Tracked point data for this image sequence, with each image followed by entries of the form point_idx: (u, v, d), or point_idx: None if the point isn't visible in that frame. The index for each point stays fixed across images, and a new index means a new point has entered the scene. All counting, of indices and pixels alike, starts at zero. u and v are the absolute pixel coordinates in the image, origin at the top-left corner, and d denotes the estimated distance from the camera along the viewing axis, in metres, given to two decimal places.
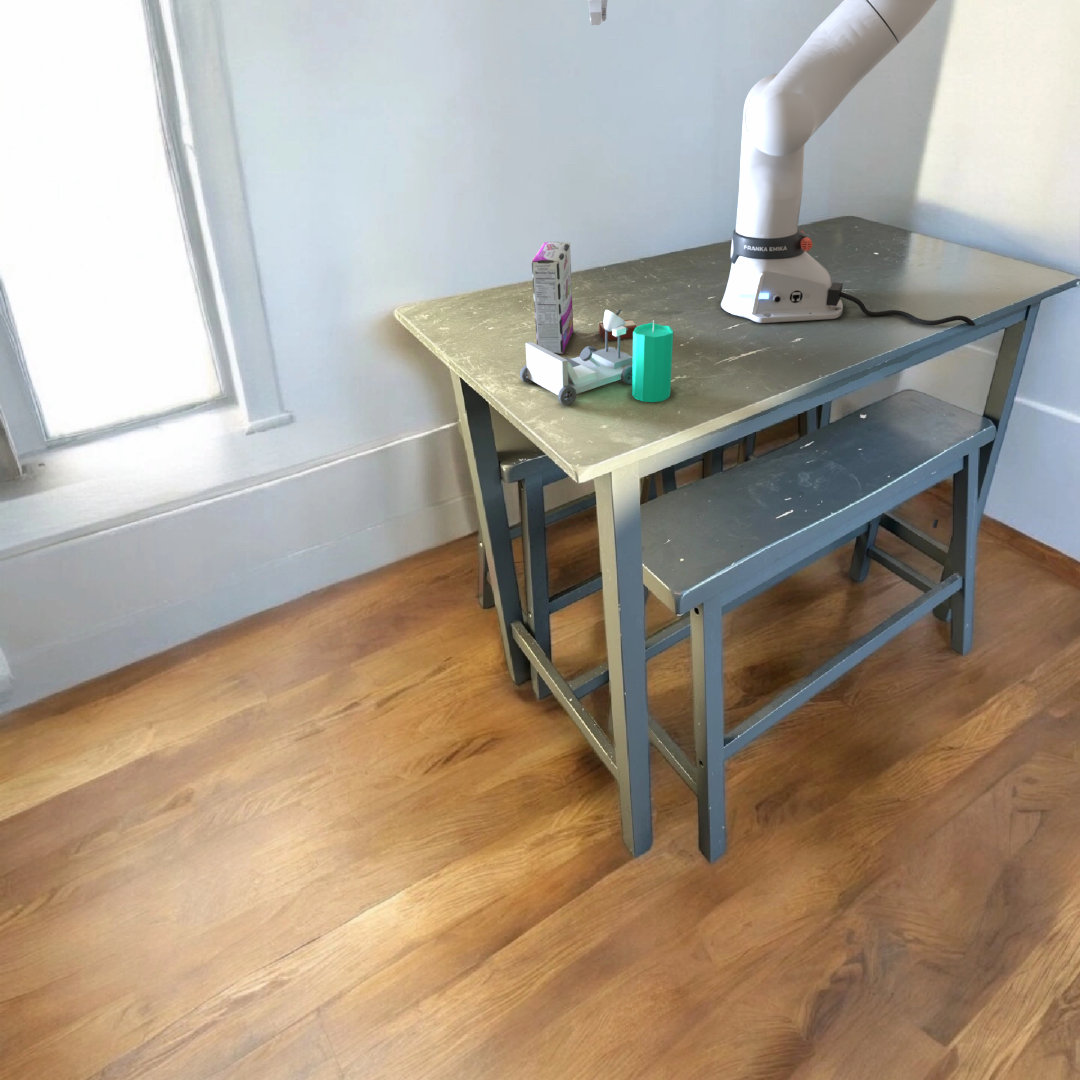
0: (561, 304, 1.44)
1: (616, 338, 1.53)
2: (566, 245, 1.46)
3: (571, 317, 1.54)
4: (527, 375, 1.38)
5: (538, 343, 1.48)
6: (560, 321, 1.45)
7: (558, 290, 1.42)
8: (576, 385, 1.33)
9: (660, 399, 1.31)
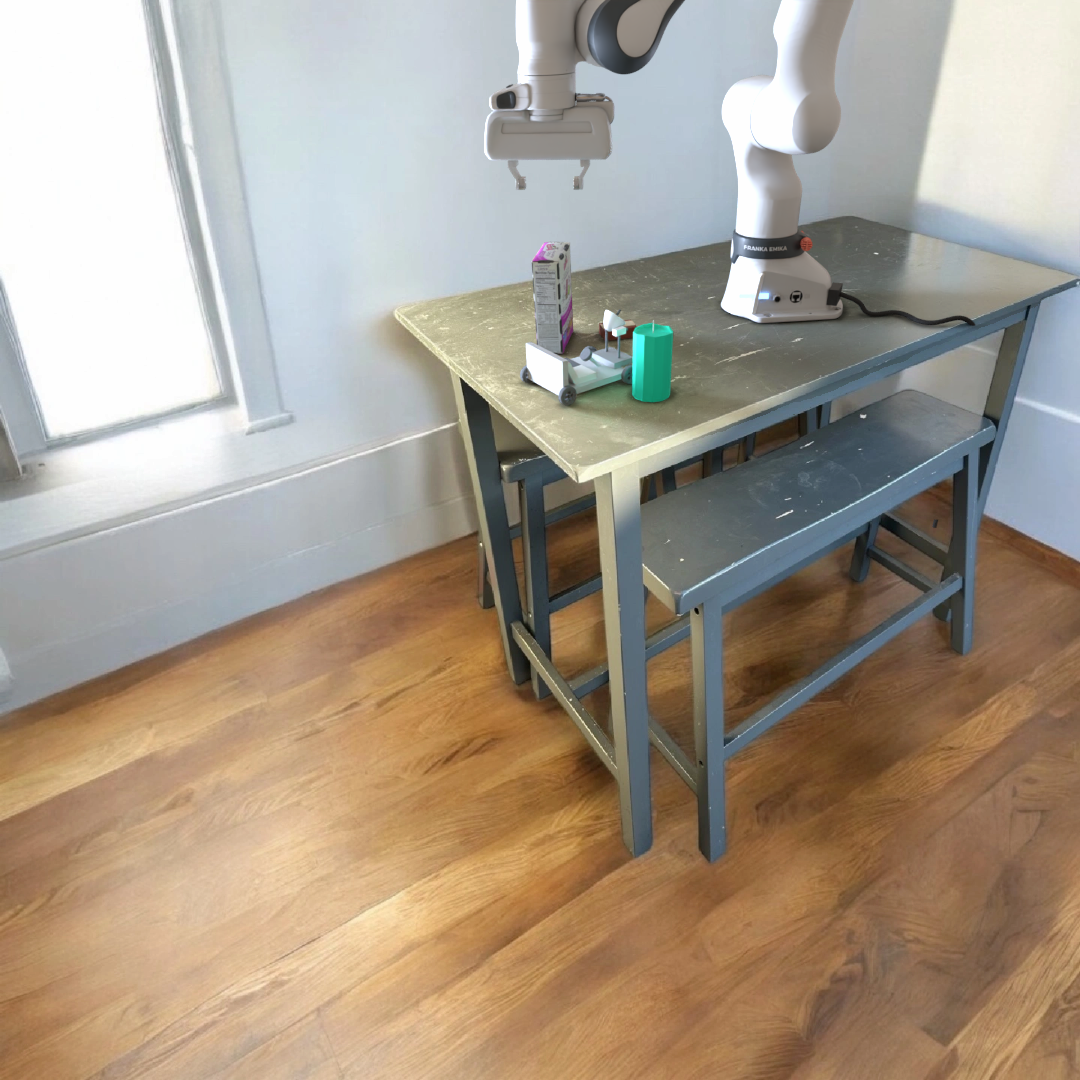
0: (561, 304, 1.44)
1: (616, 338, 1.53)
2: (566, 245, 1.46)
3: (571, 317, 1.54)
4: (528, 375, 1.38)
5: (538, 343, 1.48)
6: (560, 321, 1.45)
7: (558, 290, 1.42)
8: (576, 385, 1.33)
9: (660, 399, 1.31)
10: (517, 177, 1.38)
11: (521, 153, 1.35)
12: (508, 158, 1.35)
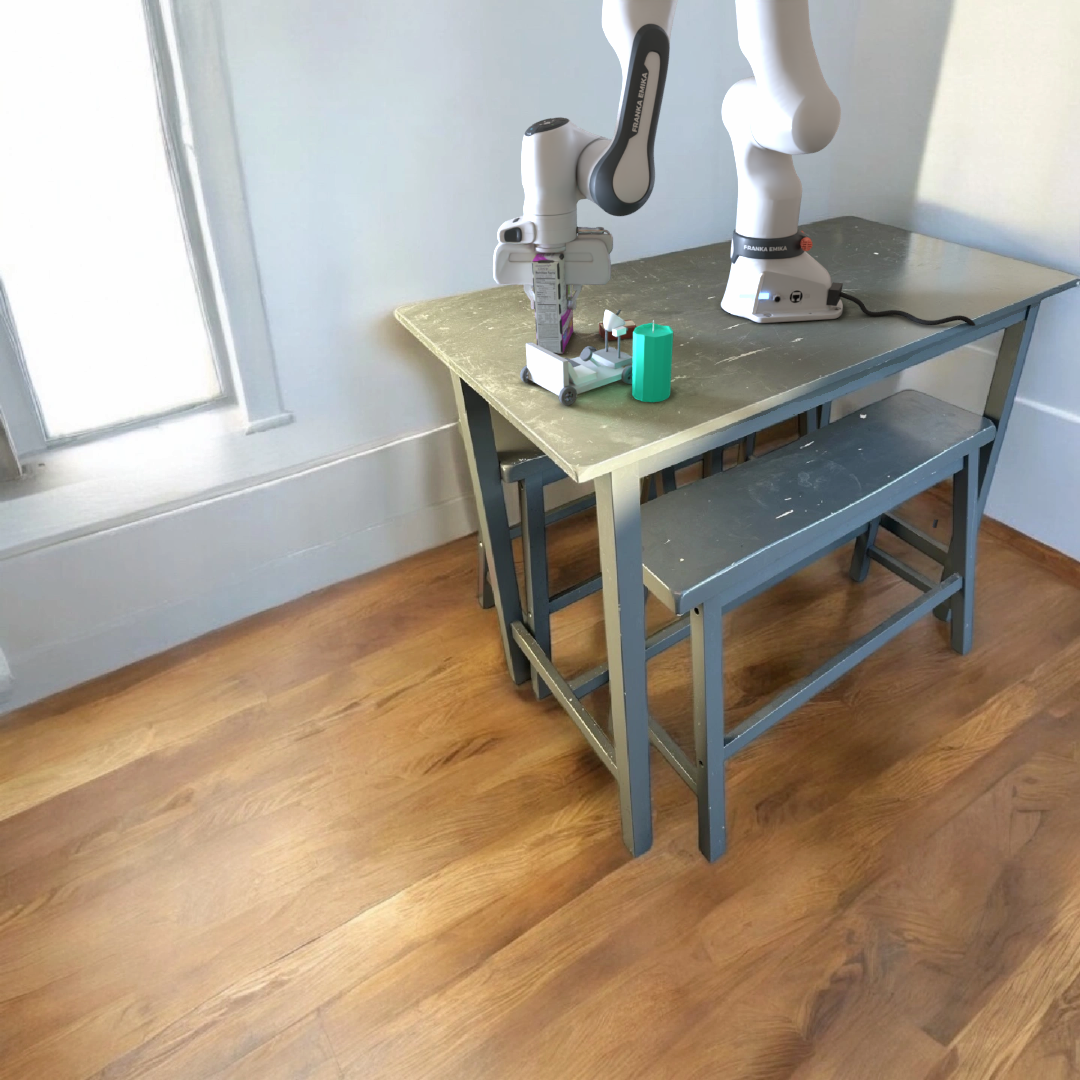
0: (561, 304, 1.44)
1: (616, 338, 1.53)
2: None
3: (571, 317, 1.54)
4: (528, 375, 1.38)
5: (538, 343, 1.48)
6: (560, 321, 1.45)
7: (558, 290, 1.42)
8: (577, 386, 1.33)
9: (660, 399, 1.31)
10: (532, 298, 1.48)
11: (527, 279, 1.46)
12: (515, 283, 1.46)
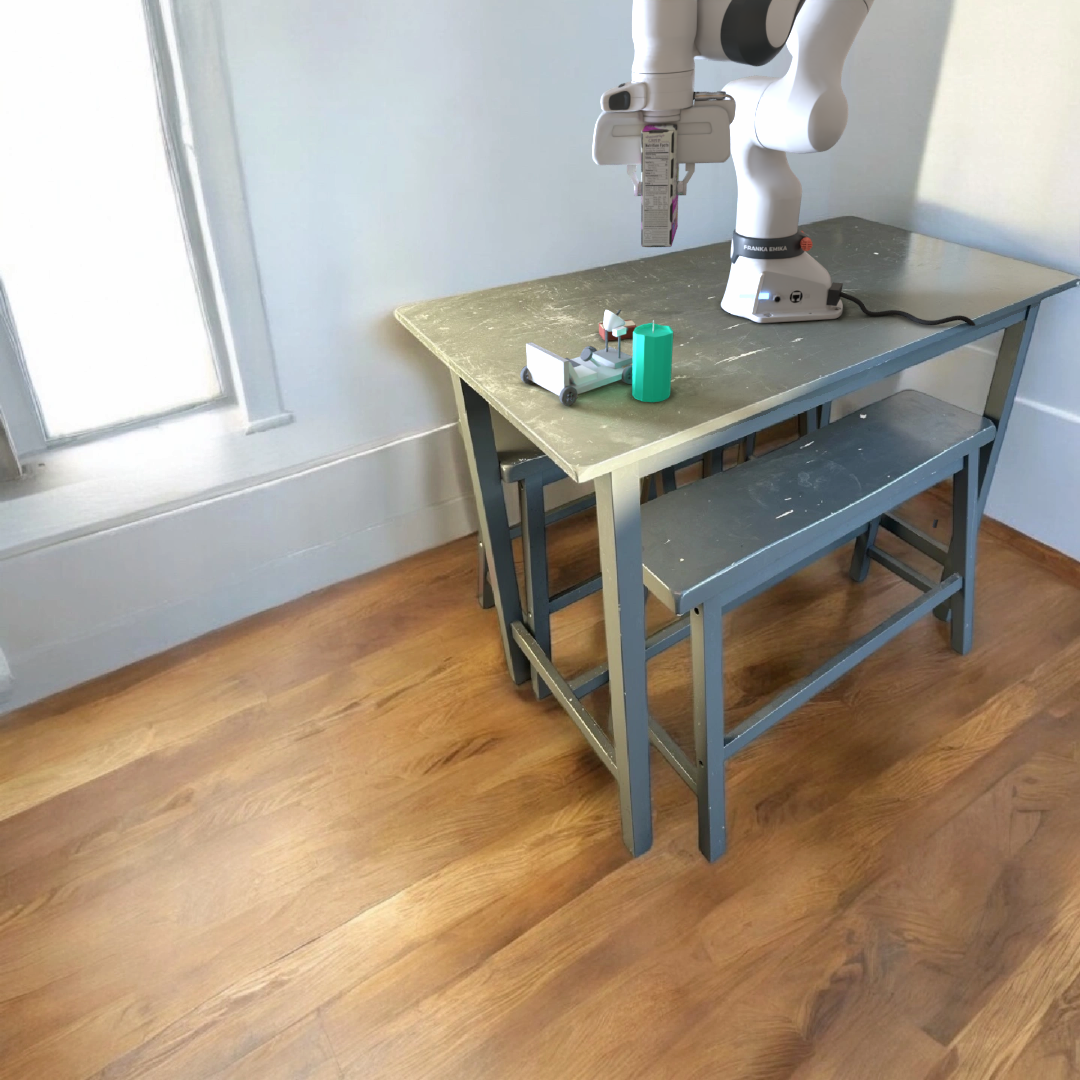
0: (673, 184, 1.23)
1: (616, 338, 1.53)
2: None
3: (677, 208, 1.33)
4: (528, 375, 1.38)
5: (643, 234, 1.28)
6: (671, 206, 1.25)
7: (671, 167, 1.22)
8: (577, 386, 1.32)
9: (660, 399, 1.31)
10: (636, 183, 1.28)
11: (632, 157, 1.25)
12: (617, 163, 1.26)
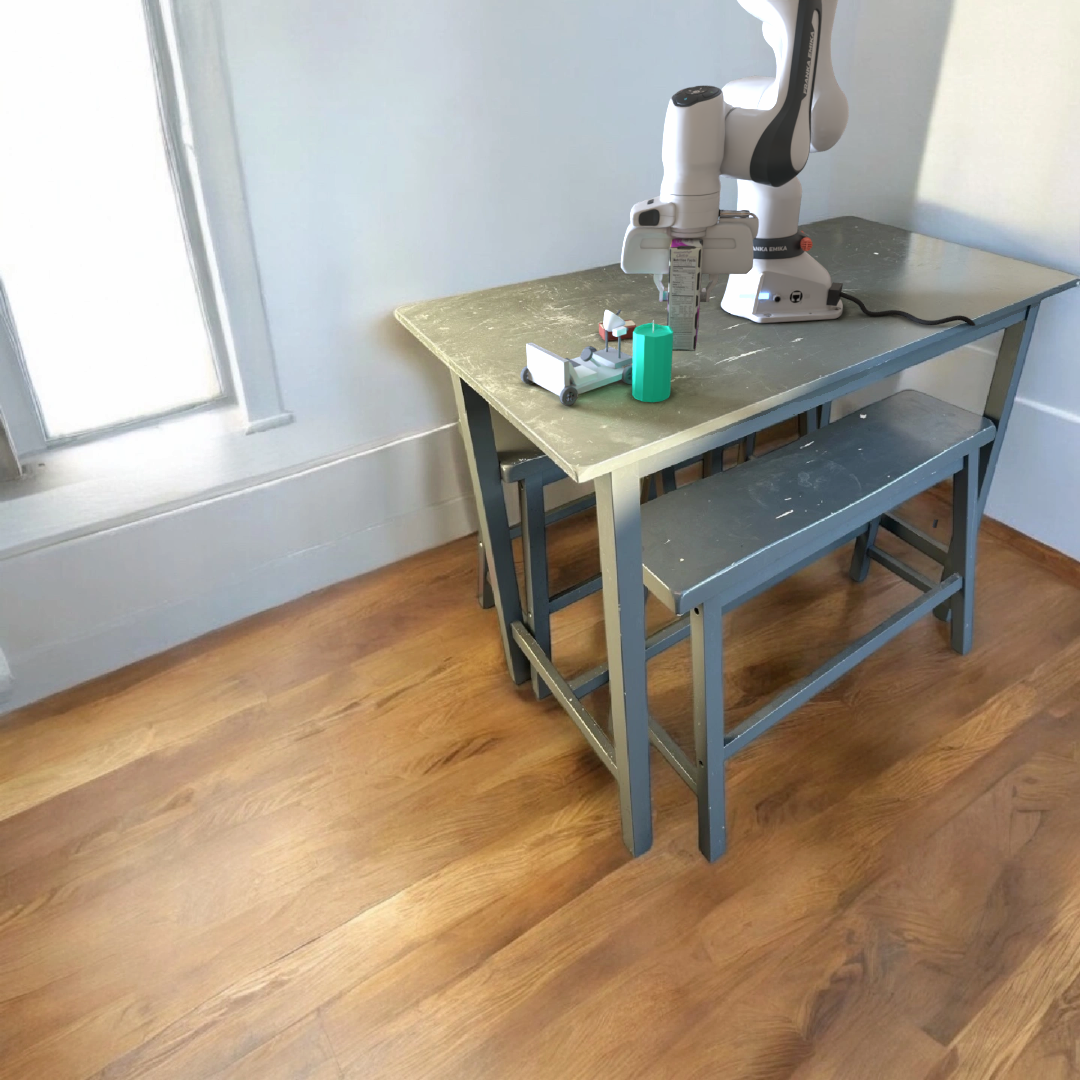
0: (698, 295, 1.29)
1: (616, 338, 1.53)
2: None
3: None
4: (528, 376, 1.38)
5: None
6: (696, 314, 1.31)
7: (697, 280, 1.28)
8: (577, 386, 1.32)
9: (660, 399, 1.31)
10: (662, 289, 1.34)
11: (659, 267, 1.31)
12: (645, 272, 1.32)
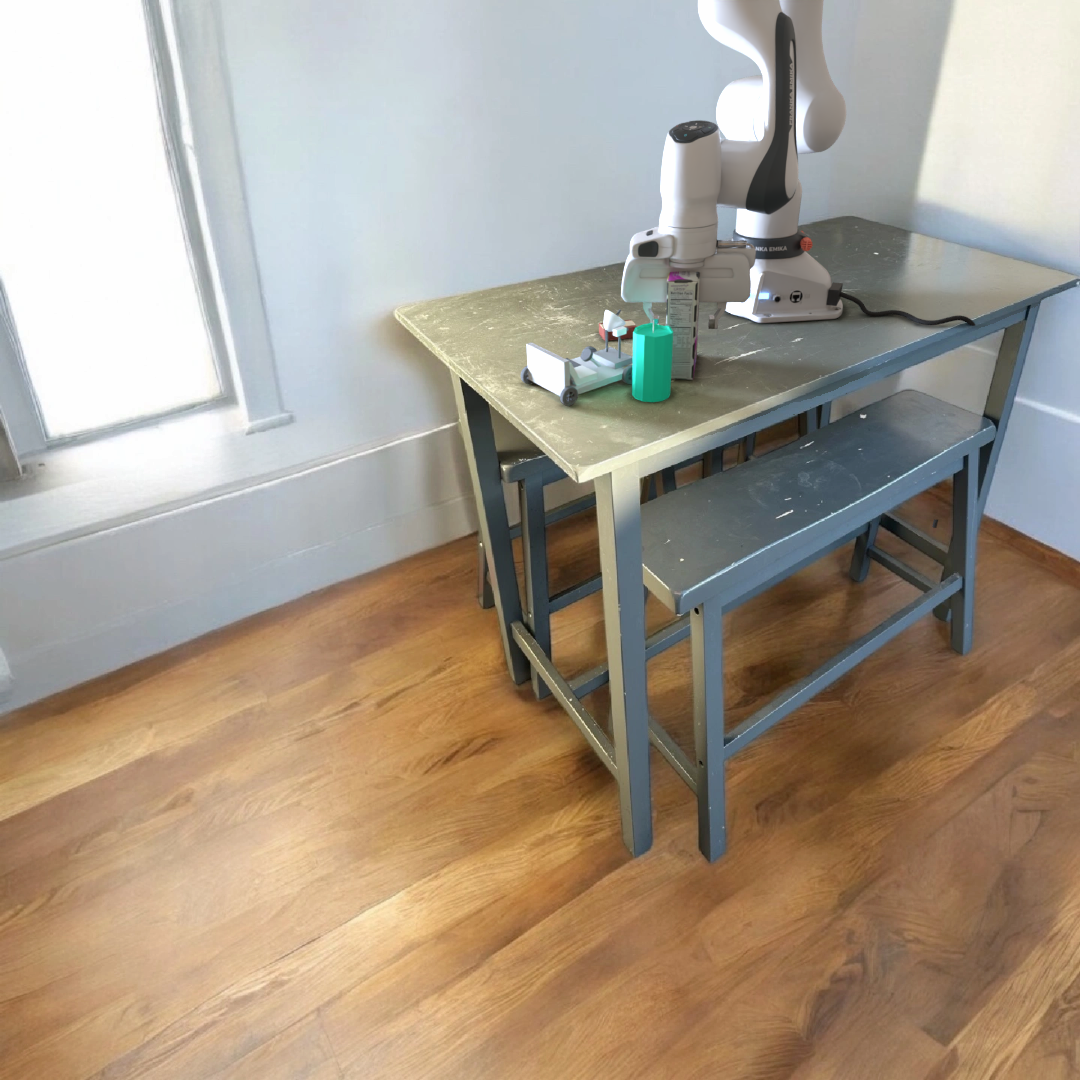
0: (696, 326, 1.32)
1: (616, 338, 1.53)
2: None
3: (697, 339, 1.43)
4: (528, 376, 1.38)
5: None
6: (693, 345, 1.34)
7: (694, 312, 1.31)
8: (577, 386, 1.32)
9: (660, 399, 1.31)
10: (652, 317, 1.37)
11: (658, 296, 1.34)
12: (644, 300, 1.35)
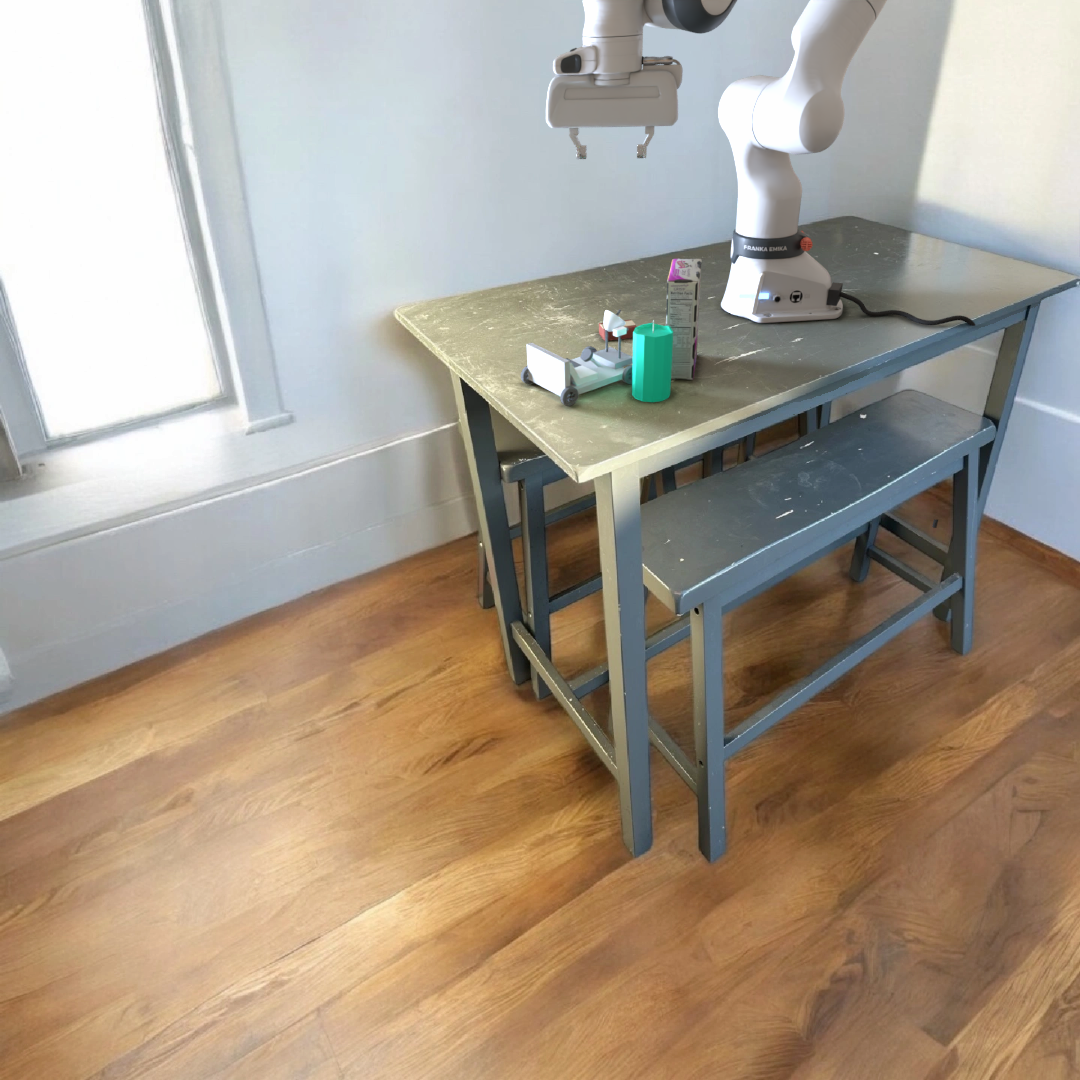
0: (696, 326, 1.32)
1: (616, 338, 1.53)
2: (699, 263, 1.35)
3: (697, 339, 1.43)
4: (528, 376, 1.37)
5: None
6: (693, 345, 1.34)
7: (694, 312, 1.31)
8: (578, 386, 1.32)
9: (660, 399, 1.31)
10: (578, 146, 1.33)
11: (584, 120, 1.30)
12: (570, 125, 1.31)
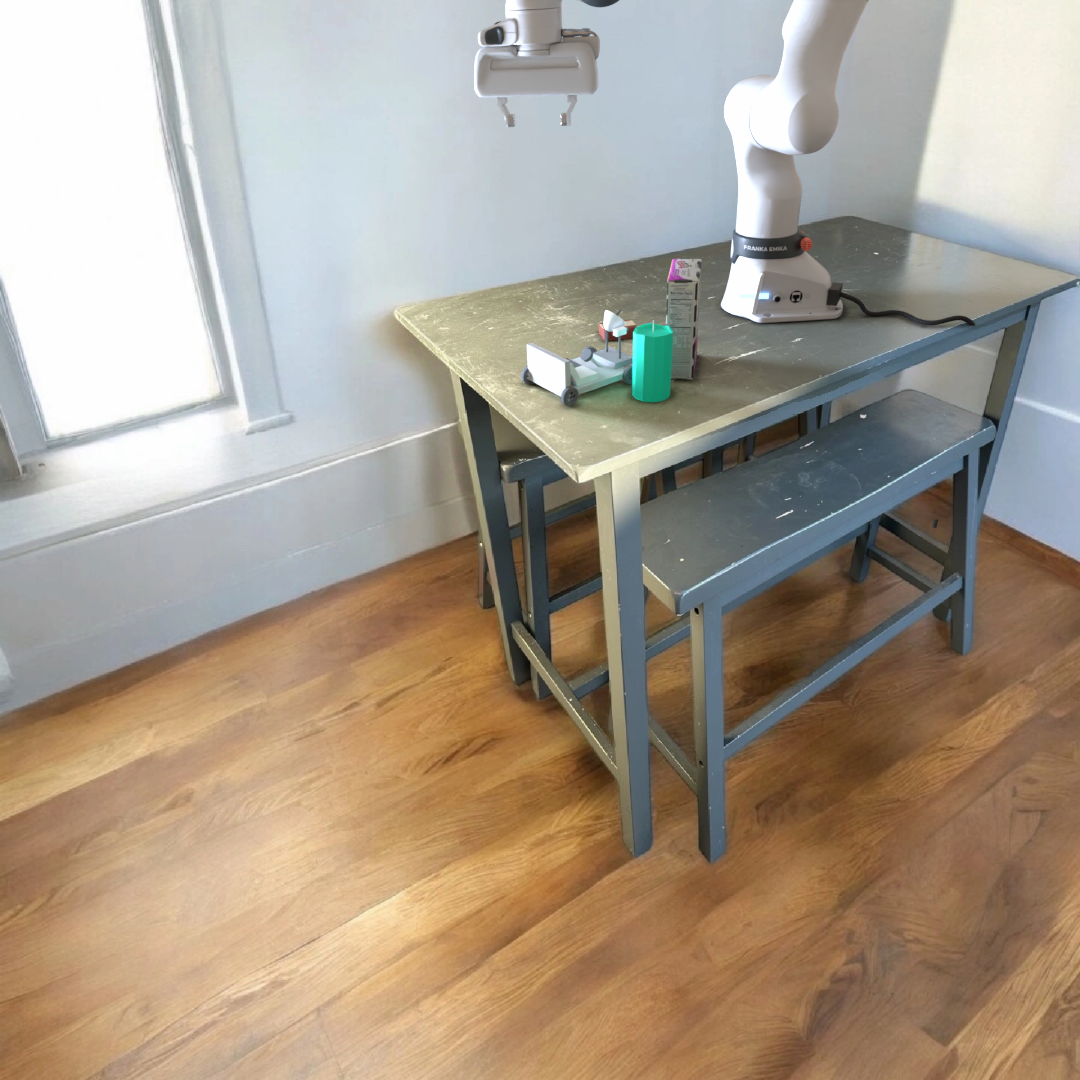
0: (696, 326, 1.32)
1: (616, 338, 1.53)
2: (699, 263, 1.35)
3: (697, 339, 1.43)
4: (528, 376, 1.37)
5: None
6: (693, 345, 1.34)
7: (694, 312, 1.31)
8: (578, 386, 1.32)
9: (660, 399, 1.31)
10: (506, 114, 1.42)
11: (510, 89, 1.39)
12: (497, 95, 1.39)
